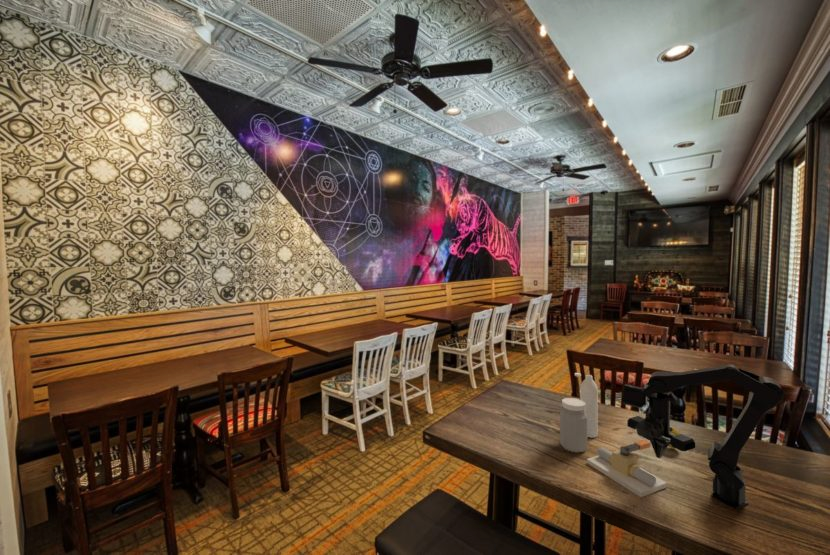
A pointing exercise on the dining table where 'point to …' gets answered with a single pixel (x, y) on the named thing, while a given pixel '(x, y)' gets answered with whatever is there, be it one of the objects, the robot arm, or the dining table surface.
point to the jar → (573, 425)
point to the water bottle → (590, 404)
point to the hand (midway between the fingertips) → (658, 457)
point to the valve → (626, 472)
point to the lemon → (675, 435)
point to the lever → (634, 447)
